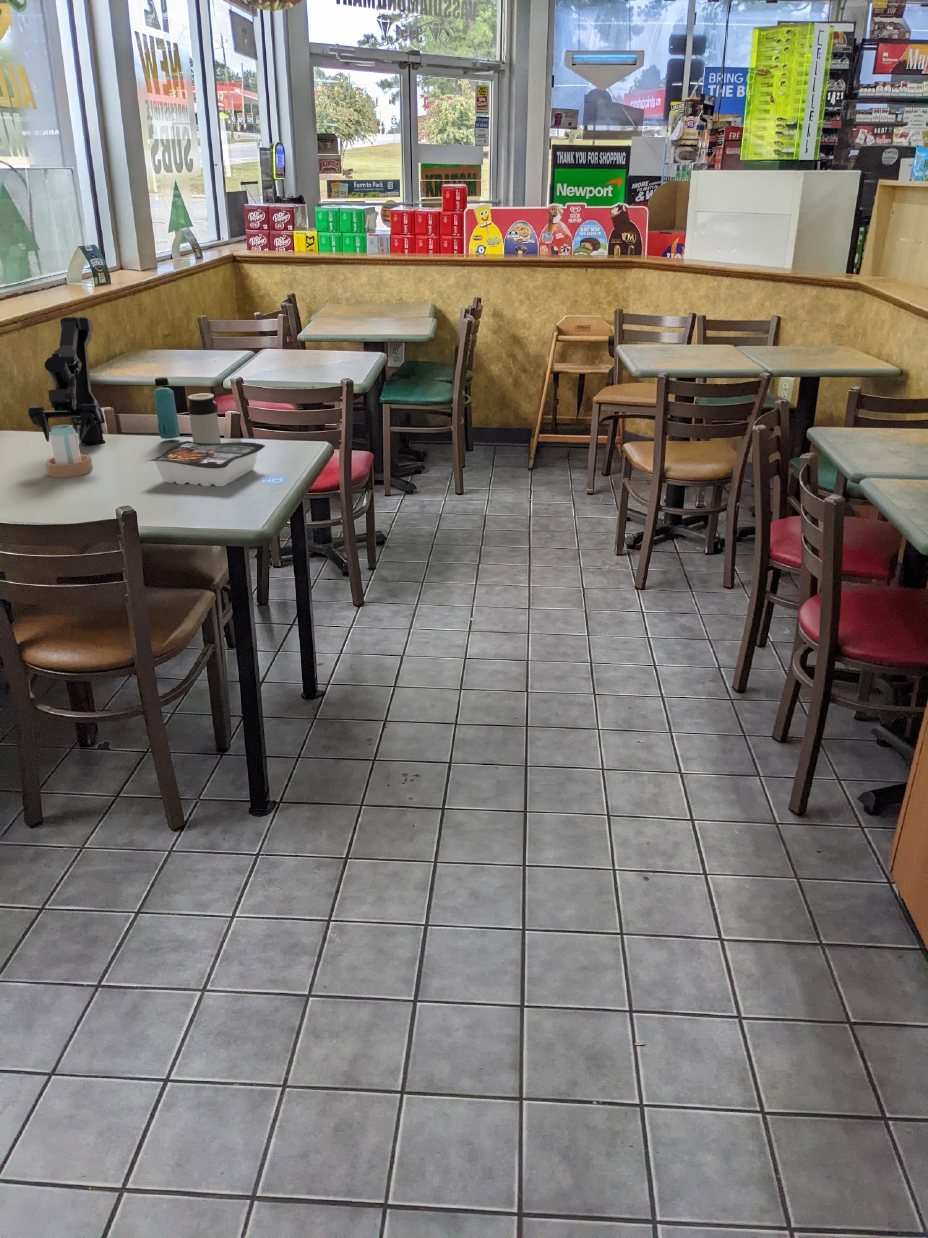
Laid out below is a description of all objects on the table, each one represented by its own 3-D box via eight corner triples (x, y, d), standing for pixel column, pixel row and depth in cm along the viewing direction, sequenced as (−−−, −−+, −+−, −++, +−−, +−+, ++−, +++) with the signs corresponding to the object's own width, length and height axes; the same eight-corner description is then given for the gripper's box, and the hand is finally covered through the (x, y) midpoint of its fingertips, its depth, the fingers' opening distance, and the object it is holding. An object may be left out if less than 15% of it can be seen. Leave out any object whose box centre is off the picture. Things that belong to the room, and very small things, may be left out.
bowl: (84, 463, 291) (82, 451, 289) (98, 471, 282) (95, 460, 281) (43, 470, 284) (40, 459, 283) (55, 479, 276) (52, 467, 274)
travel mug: (215, 459, 292) (207, 398, 284) (190, 458, 293) (182, 398, 286) (226, 452, 299) (219, 393, 291) (202, 451, 300) (194, 392, 293)
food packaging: (143, 459, 267) (187, 438, 286) (148, 485, 270) (191, 463, 289) (225, 464, 260) (265, 443, 279) (229, 491, 263) (267, 468, 283)
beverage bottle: (184, 438, 316) (175, 375, 308) (176, 443, 310) (167, 379, 302) (164, 438, 317) (155, 375, 308) (156, 443, 311) (146, 379, 302)
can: (55, 466, 284) (46, 425, 279) (80, 463, 287) (72, 422, 282) (58, 472, 279) (50, 430, 274) (84, 468, 282) (76, 427, 277)
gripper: (22, 378, 276) (20, 426, 271) (91, 375, 278) (90, 422, 273) (35, 400, 286) (33, 447, 281) (101, 397, 289) (100, 443, 283)
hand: (64, 439), depth 279 cm, fingers open, 9 cm apart
